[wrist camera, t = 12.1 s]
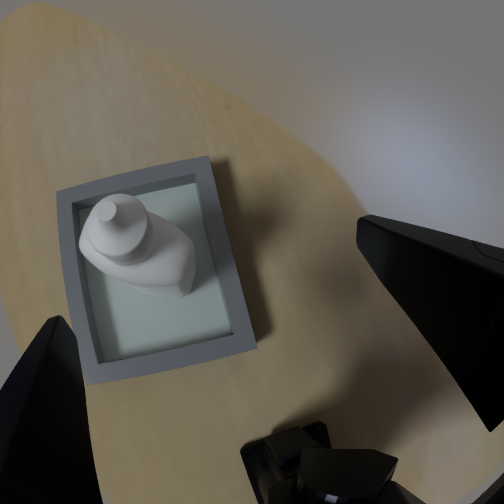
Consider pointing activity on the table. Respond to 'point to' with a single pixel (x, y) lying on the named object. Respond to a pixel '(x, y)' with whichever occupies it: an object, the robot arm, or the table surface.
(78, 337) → the gray rectangular tray
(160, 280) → the eye dropper bottle
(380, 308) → the table surface
